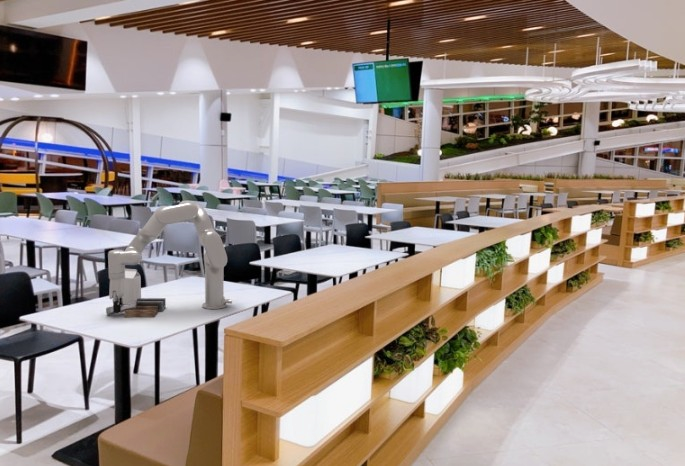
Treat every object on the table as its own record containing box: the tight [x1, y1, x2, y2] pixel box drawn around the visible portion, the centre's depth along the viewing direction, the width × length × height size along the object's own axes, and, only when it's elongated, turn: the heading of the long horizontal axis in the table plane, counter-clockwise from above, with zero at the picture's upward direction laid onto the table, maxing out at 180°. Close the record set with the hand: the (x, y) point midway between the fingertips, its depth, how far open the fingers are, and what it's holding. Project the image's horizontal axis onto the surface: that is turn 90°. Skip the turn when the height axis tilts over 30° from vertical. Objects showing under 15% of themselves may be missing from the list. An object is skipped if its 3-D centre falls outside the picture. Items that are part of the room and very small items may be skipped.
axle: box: [105, 301, 137, 317], centre depth 288 cm, size 14×4×4 cm, turn 97°
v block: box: [136, 297, 167, 313], centre depth 299 cm, size 14×8×5 cm, turn 96°
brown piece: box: [124, 306, 159, 318], centre depth 289 cm, size 14×8×4 cm, turn 96°
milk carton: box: [122, 268, 142, 304], centre depth 308 cm, size 7×7×19 cm
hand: (118, 310), depth 288 cm, fingers closed on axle, 4 cm apart
